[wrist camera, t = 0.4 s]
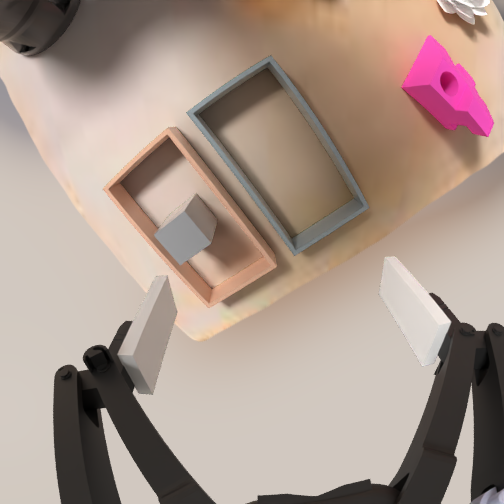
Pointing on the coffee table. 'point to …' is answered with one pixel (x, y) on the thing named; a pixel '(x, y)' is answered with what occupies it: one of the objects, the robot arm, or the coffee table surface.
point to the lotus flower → (465, 8)
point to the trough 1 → (149, 229)
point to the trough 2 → (358, 202)
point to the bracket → (447, 90)
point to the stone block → (187, 229)
